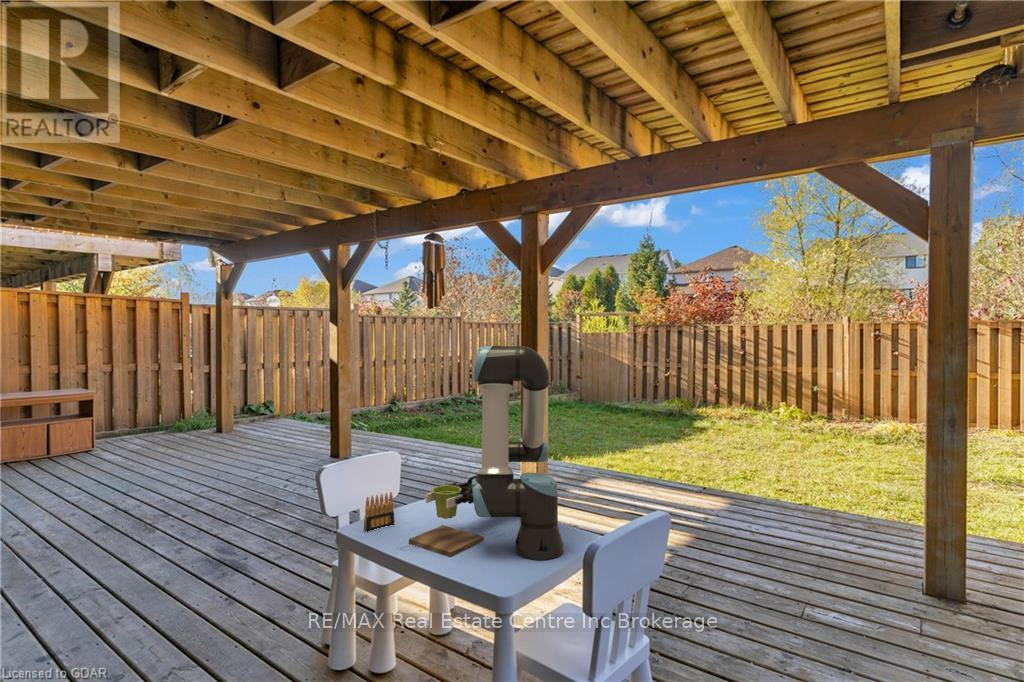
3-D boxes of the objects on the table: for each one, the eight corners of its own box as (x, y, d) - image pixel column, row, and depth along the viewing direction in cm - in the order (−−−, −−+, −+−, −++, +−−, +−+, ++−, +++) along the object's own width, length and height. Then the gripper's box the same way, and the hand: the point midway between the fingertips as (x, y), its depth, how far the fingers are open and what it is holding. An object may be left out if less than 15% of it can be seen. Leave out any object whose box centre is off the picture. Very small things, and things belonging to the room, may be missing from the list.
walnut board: (483, 540, 170) (483, 536, 170) (450, 557, 157) (450, 552, 157) (443, 529, 181) (443, 525, 181) (408, 543, 168) (408, 539, 168)
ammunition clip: (366, 532, 178) (366, 497, 178) (363, 531, 179) (363, 496, 179) (394, 525, 185) (394, 491, 185) (392, 524, 186) (392, 490, 186)
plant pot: (457, 509, 176) (457, 484, 176) (464, 519, 167) (464, 492, 167) (430, 512, 173) (430, 486, 173) (434, 522, 164) (434, 494, 164)
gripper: (505, 500, 178) (461, 519, 160) (458, 490, 190) (413, 506, 172) (505, 479, 178) (461, 495, 160) (458, 469, 190) (413, 483, 172)
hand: (436, 501), depth 166 cm, fingers closed on plant pot, 8 cm apart
